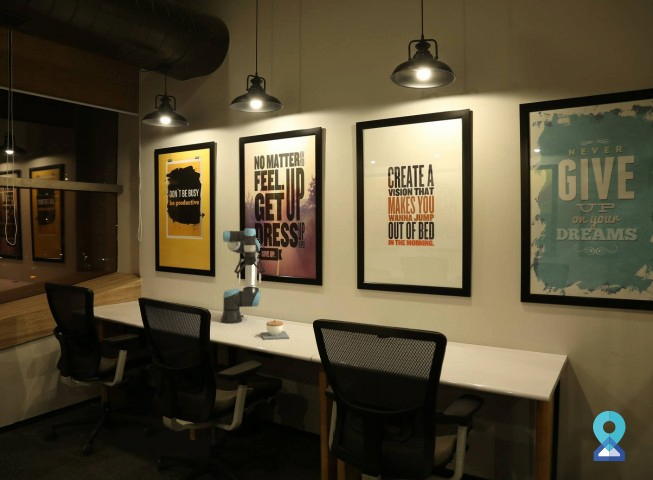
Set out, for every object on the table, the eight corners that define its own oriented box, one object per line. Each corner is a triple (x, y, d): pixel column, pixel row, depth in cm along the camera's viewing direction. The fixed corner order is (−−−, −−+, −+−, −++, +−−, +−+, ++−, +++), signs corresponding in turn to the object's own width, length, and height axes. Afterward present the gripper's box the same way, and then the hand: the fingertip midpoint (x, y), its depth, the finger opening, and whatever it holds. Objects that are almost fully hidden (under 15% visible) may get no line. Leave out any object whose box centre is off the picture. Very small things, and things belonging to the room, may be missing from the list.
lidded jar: (285, 333, 309) (285, 318, 308) (280, 337, 298) (280, 322, 298) (269, 332, 311) (269, 318, 311) (263, 336, 300) (264, 321, 300)
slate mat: (260, 333, 310) (260, 332, 310) (284, 332, 314) (284, 331, 314) (263, 339, 295) (263, 338, 295) (289, 338, 299) (289, 337, 299)
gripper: (231, 251, 312) (231, 284, 313) (269, 251, 319) (268, 283, 320) (230, 251, 320) (230, 282, 320) (267, 251, 326) (267, 281, 327)
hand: (249, 283), depth 320 cm, fingers open, 13 cm apart
